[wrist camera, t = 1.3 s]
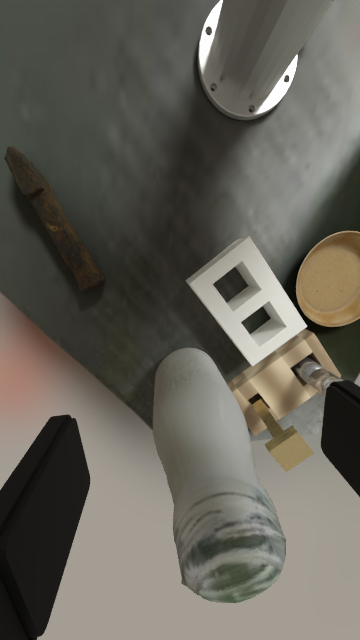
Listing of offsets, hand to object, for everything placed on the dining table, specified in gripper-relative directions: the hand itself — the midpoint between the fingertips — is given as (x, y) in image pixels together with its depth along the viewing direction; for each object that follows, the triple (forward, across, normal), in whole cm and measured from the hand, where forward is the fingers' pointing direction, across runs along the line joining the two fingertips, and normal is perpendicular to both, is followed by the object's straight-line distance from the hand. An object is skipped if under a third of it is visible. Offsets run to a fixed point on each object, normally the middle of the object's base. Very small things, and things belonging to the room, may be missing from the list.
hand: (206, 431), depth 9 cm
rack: (+29, -11, +2) cm, 31 cm away
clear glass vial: (+29, -22, +14) cm, 39 cm away
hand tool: (+30, +15, -12) cm, 35 cm away
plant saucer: (+30, -27, 0) cm, 40 cm away
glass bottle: (+29, -1, +12) cm, 32 cm away
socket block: (+29, -17, +17) cm, 38 cm away
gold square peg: (+25, -13, +19) cm, 34 cm away
